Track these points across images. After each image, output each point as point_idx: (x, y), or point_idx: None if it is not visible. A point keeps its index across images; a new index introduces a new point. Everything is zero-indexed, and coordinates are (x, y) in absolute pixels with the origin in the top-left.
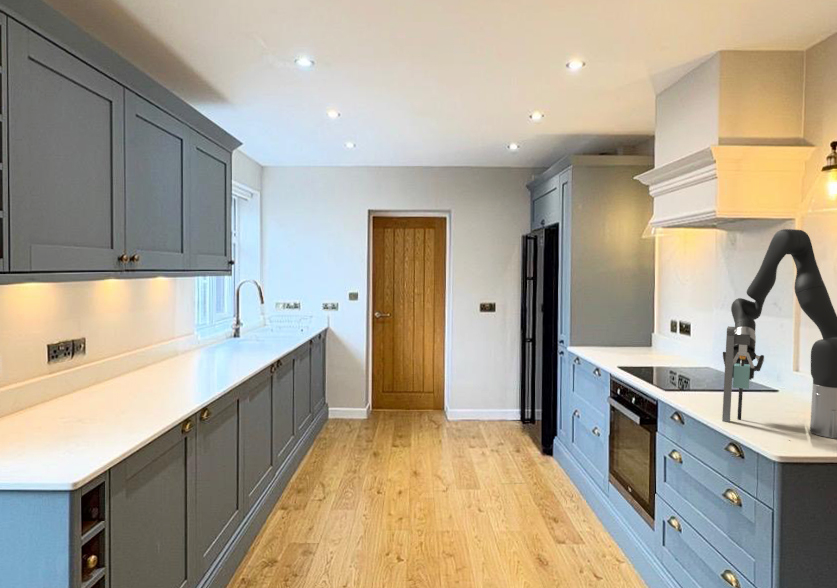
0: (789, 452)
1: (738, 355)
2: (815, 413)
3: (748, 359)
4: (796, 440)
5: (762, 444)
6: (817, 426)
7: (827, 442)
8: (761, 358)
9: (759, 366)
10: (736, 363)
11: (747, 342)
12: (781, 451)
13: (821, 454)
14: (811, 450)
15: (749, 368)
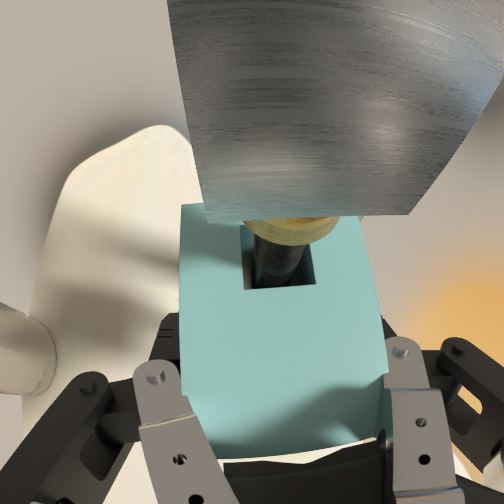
0: (136, 141)
1: (416, 491)
2: (10, 319)
3: (201, 463)
4: (99, 240)
5: (183, 157)
6: (31, 322)
7: (40, 270)
8: (10, 485)
9: (76, 380)
10: (372, 408)
11: None
12: (150, 138)
13: (80, 168)
14: (90, 181)
15: (187, 211)
